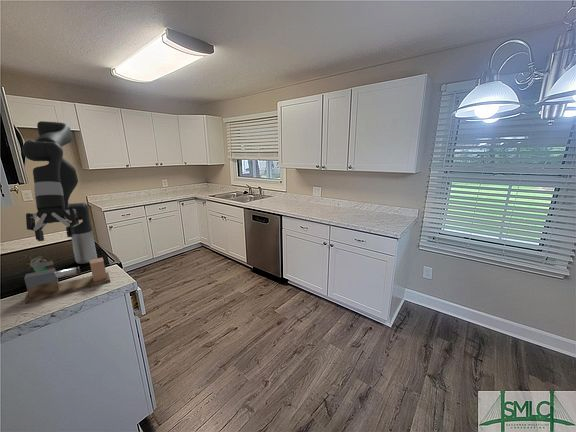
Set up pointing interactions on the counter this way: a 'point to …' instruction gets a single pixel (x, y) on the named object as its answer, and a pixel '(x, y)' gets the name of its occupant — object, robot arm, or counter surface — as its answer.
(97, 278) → the socket
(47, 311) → the counter surface
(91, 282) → the dock
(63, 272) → the tube
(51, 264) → the food container
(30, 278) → the sleeve
